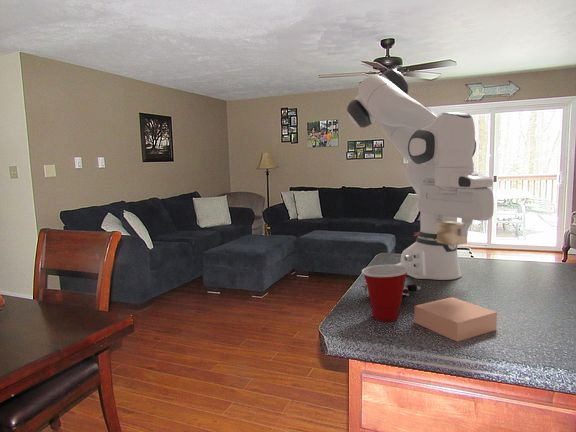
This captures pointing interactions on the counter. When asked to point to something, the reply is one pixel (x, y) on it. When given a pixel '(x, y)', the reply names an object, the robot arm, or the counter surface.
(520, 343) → the counter surface
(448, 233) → the maple cube
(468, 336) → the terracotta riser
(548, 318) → the counter surface
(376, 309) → the plastic cup
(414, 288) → the robot toy
